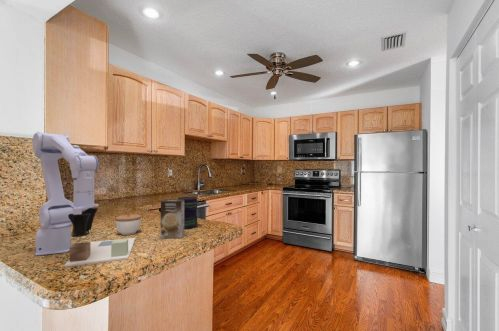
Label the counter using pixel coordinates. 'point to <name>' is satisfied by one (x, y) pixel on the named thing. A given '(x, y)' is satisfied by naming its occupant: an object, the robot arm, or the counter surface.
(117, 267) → the counter surface
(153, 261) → the counter surface
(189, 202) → the storage jar
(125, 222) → the lidded jar
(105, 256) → the board
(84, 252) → the walnut block
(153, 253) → the counter surface
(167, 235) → the coffee box
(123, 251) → the sage block
